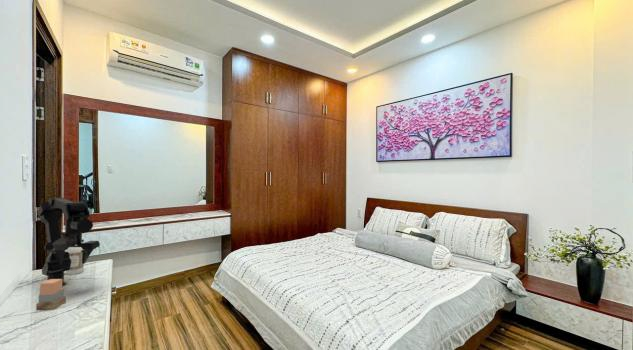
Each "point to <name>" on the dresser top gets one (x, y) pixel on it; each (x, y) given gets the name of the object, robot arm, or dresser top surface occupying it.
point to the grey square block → (51, 297)
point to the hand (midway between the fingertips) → (72, 264)
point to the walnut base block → (51, 304)
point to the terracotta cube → (51, 286)
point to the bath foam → (75, 260)
